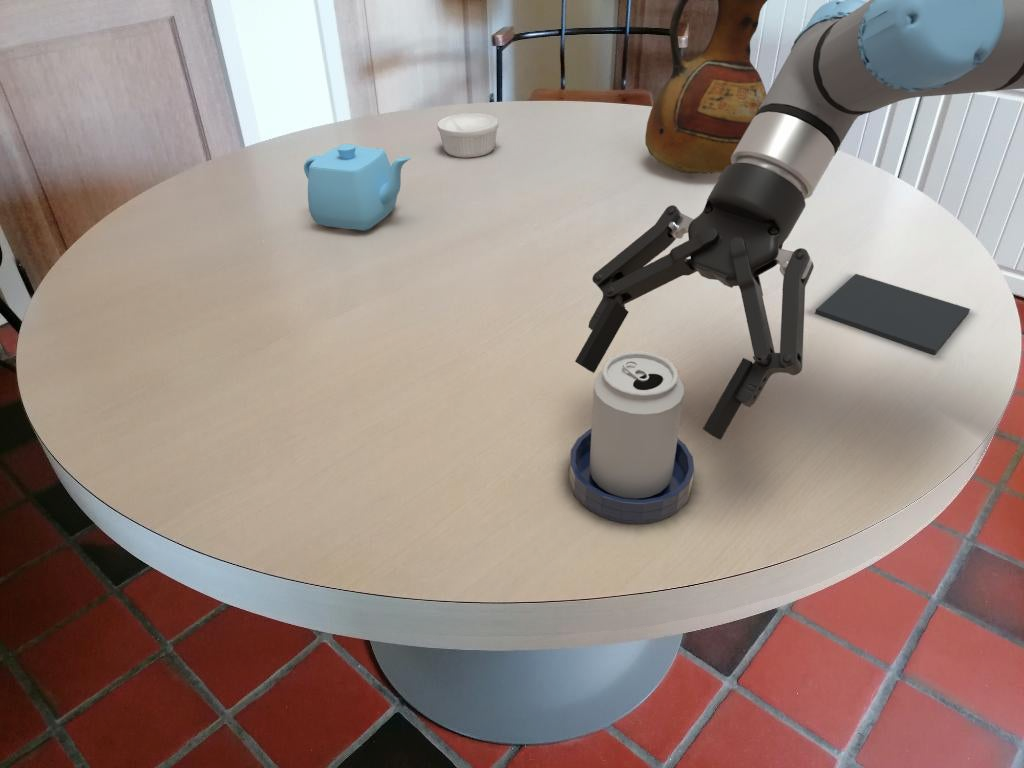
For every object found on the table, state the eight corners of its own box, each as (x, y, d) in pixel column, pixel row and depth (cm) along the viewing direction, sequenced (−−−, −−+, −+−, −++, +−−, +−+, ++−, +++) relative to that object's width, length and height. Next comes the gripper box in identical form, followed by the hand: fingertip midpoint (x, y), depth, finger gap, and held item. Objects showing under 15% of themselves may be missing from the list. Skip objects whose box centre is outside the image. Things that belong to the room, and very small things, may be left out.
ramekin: (427, 152, 142) (424, 123, 139) (467, 136, 149) (465, 109, 146) (471, 164, 136) (469, 135, 133) (510, 147, 143) (510, 119, 140)
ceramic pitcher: (765, 189, 124) (803, -15, 106) (642, 184, 127) (658, -15, 109) (753, 148, 140) (784, -35, 122) (643, 145, 142) (658, -34, 125)
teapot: (401, 242, 110) (392, 166, 104) (293, 229, 115) (278, 155, 108) (433, 210, 120) (427, 138, 113) (333, 198, 125) (321, 129, 118)
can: (628, 518, 65) (639, 409, 58) (572, 471, 70) (576, 365, 63) (688, 481, 68) (706, 374, 61) (631, 439, 73) (641, 335, 66)
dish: (713, 475, 69) (717, 455, 68) (645, 544, 63) (648, 523, 61) (616, 426, 75) (617, 406, 74) (545, 483, 69) (545, 463, 68)
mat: (968, 313, 91) (970, 308, 91) (934, 355, 84) (936, 350, 84) (854, 277, 99) (855, 273, 99) (814, 313, 92) (815, 309, 92)
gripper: (919, 245, 60) (786, 476, 60) (663, 168, 74) (558, 355, 75) (910, 201, 54) (762, 459, 54) (634, 127, 68) (519, 331, 69)
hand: (643, 399), depth 65 cm, fingers open, 13 cm apart
